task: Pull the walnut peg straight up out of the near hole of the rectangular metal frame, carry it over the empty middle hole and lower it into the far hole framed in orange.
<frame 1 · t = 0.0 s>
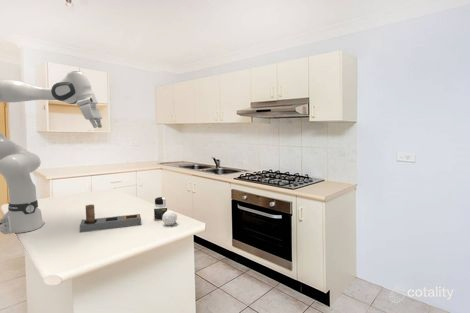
hand: (98, 127, 151), 52 cm above the counter, tool tilted 20°, fingers open, 8 cm apart
ball: (169, 224, 154), on the counter
walnut peg: (91, 228, 148), resting in rectangular metal frame
rectangular metal frame: (111, 225, 152), on the counter
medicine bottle: (160, 218, 165), on the counter
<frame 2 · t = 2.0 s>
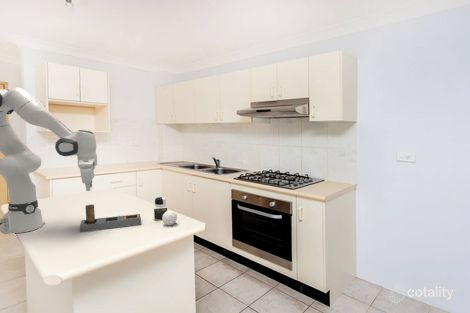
hand: (89, 189, 146), 21 cm above the counter, tool pointing down, fingers open, 8 cm apart
nothing on the counter moved.
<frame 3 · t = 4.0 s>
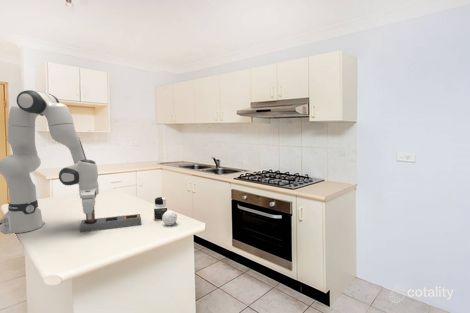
hand: (90, 217, 148), 6 cm above the counter, tool pointing down, fingers closed on walnut peg, 4 cm apart
walnut peg: (91, 228, 148), resting in rectangular metal frame, touching gripper
everything else where it was.
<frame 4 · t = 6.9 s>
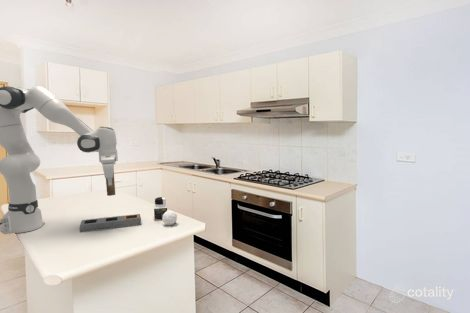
hand: (110, 184, 150), 22 cm above the counter, tool pointing down, fingers closed on walnut peg, 4 cm apart
walnut peg: (111, 194, 150), point 17 cm above the counter, touching gripper
everything else where it was.
when the fingers open (7 cm above the counter, at t = 10.1 s): walnut peg stays where it is, resting in rectangular metal frame.
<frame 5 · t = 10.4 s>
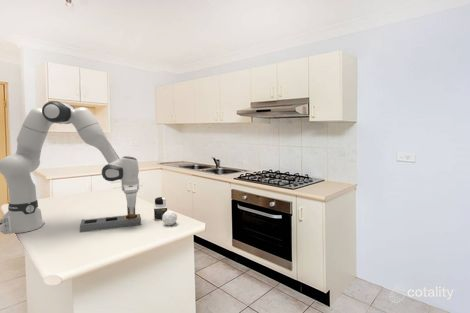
hand: (131, 211, 155), 7 cm above the counter, tool pointing down, fingers open, 7 cm apart
walnut peg: (131, 223, 156), resting in rectangular metal frame
everything else where it was.
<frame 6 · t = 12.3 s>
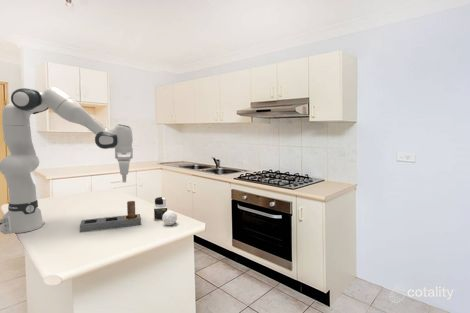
hand: (124, 180, 154), 23 cm above the counter, tool pointing down, fingers open, 8 cm apart
nothing on the counter moved.
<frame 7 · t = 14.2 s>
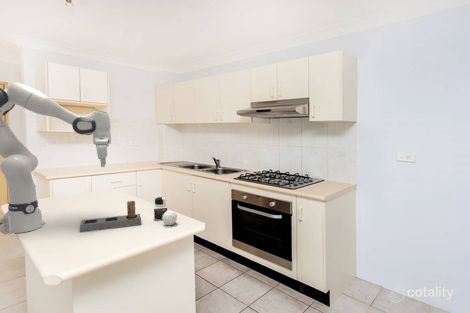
hand: (103, 165, 157), 31 cm above the counter, tool pointing down, fingers open, 8 cm apart
nothing on the counter moved.
at the end: walnut peg 0.1 cm from the target spot, resting in rectangular metal frame; walnut peg tilted 0°; the gripper is holding nothing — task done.
